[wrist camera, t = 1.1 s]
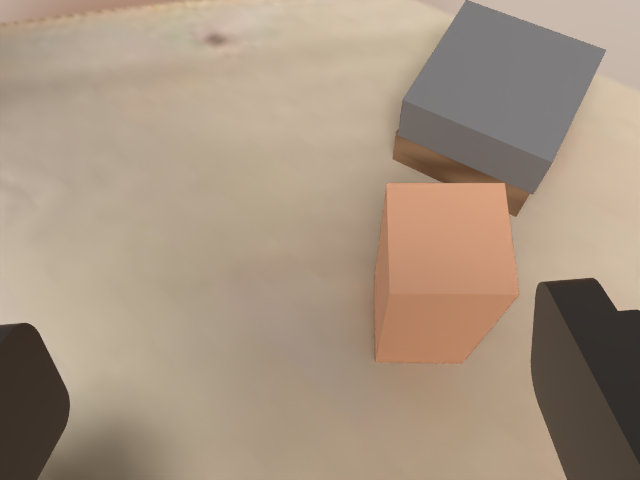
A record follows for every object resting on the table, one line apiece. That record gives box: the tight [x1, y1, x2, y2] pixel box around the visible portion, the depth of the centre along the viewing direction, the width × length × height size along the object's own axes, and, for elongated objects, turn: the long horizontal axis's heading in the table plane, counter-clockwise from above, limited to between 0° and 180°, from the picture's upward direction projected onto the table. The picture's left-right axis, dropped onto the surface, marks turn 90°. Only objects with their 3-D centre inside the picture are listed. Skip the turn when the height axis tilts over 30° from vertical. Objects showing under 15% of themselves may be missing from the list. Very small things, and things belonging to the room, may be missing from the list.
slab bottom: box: [393, 129, 530, 217], centre depth 38 cm, size 9×9×4 cm
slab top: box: [398, 0, 606, 194], centre depth 35 cm, size 9×9×4 cm
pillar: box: [374, 183, 519, 363], centre depth 28 cm, size 5×5×12 cm
